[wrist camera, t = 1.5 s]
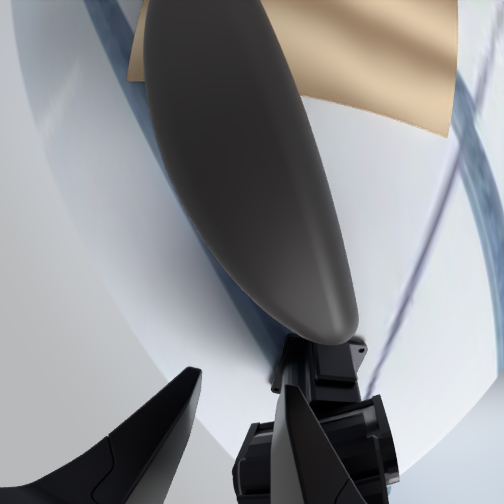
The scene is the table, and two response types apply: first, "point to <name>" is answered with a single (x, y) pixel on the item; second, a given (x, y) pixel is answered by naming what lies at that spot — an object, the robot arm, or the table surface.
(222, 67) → the leaning round-cornered charcoal block
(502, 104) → the table surface
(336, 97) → the wooden board
